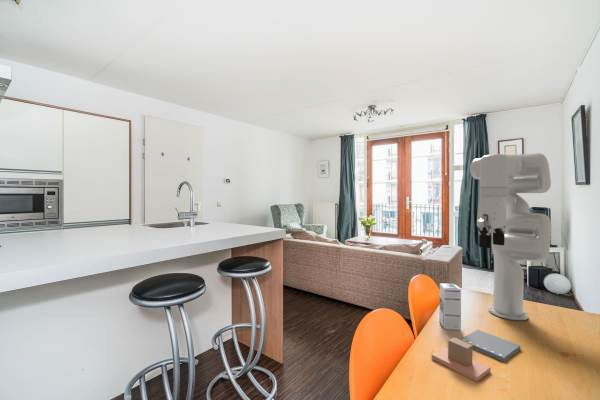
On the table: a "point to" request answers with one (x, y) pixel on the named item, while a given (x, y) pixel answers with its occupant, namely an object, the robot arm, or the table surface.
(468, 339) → the grey dotted square slab
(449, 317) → the syrup box
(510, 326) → the table surface
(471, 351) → the pink slab with block
